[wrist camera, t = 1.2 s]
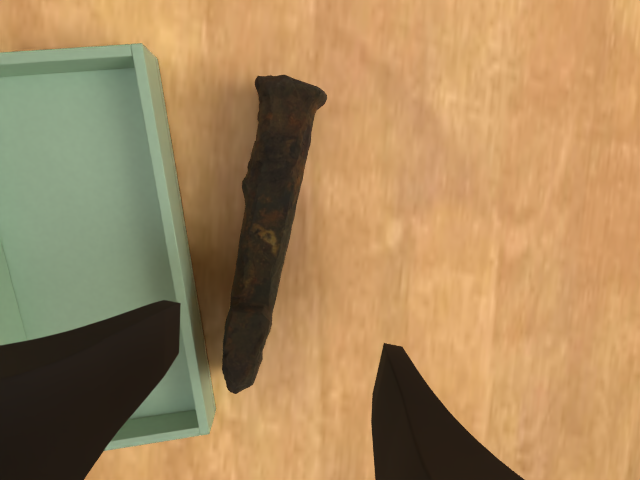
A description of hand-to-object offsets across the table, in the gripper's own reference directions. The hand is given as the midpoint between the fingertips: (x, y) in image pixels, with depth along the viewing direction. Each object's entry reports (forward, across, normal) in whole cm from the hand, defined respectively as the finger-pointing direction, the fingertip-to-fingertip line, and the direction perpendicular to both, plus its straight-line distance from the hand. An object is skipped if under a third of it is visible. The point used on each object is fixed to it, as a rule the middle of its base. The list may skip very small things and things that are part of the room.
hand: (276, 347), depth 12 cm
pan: (+9, +14, +2) cm, 17 cm away
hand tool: (+12, +3, 0) cm, 12 cm away
